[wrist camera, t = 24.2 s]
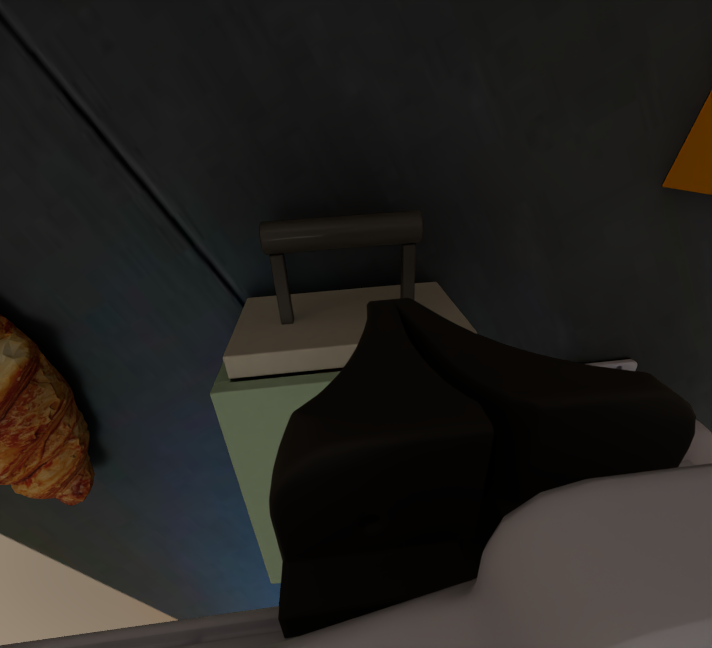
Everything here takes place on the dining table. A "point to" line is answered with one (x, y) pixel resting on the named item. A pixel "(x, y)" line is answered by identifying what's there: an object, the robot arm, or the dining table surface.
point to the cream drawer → (324, 297)
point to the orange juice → (695, 157)
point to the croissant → (39, 425)
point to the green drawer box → (260, 440)
